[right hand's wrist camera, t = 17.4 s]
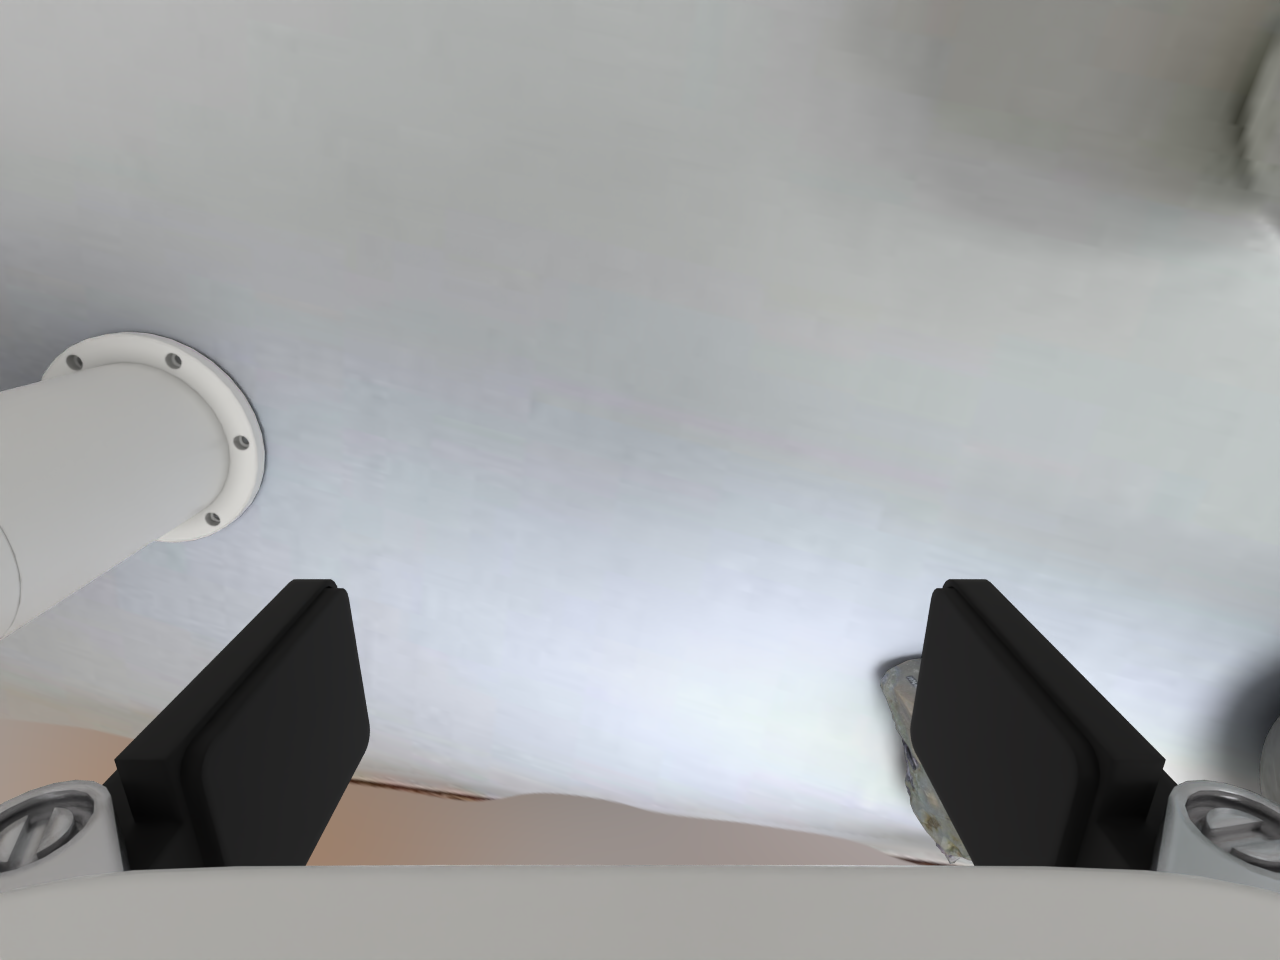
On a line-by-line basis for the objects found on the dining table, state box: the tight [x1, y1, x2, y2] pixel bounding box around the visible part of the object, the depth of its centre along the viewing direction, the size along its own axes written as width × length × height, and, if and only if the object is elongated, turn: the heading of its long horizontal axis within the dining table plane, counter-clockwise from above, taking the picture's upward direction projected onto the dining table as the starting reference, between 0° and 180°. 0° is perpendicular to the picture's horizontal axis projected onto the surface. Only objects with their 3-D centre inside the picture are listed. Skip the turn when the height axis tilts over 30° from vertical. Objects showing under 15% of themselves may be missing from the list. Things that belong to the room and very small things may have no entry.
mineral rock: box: [880, 658, 972, 864], centre depth 43 cm, size 13×11×10 cm
